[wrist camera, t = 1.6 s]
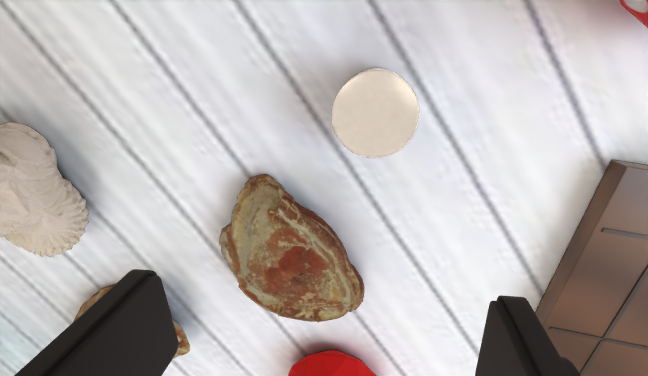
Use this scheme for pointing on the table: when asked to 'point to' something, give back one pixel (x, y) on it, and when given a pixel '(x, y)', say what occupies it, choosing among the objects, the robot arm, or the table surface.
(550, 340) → the robot arm
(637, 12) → the decorative mushroom
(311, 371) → the gemstone
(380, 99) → the cream cylinder puck
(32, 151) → the fossil replica
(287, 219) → the stone
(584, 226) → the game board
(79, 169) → the table surface
